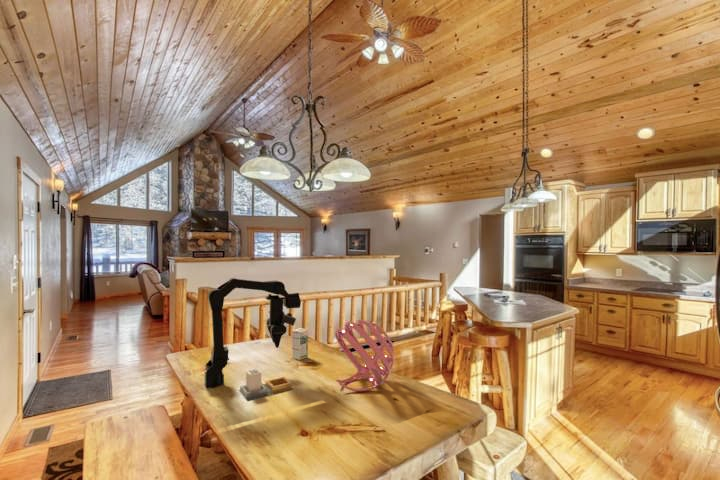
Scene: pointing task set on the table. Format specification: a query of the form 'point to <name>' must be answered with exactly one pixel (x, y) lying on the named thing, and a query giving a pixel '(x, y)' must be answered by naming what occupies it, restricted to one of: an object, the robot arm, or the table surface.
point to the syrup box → (299, 343)
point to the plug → (253, 380)
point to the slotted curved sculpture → (370, 361)
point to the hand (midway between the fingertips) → (275, 344)
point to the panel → (268, 389)
